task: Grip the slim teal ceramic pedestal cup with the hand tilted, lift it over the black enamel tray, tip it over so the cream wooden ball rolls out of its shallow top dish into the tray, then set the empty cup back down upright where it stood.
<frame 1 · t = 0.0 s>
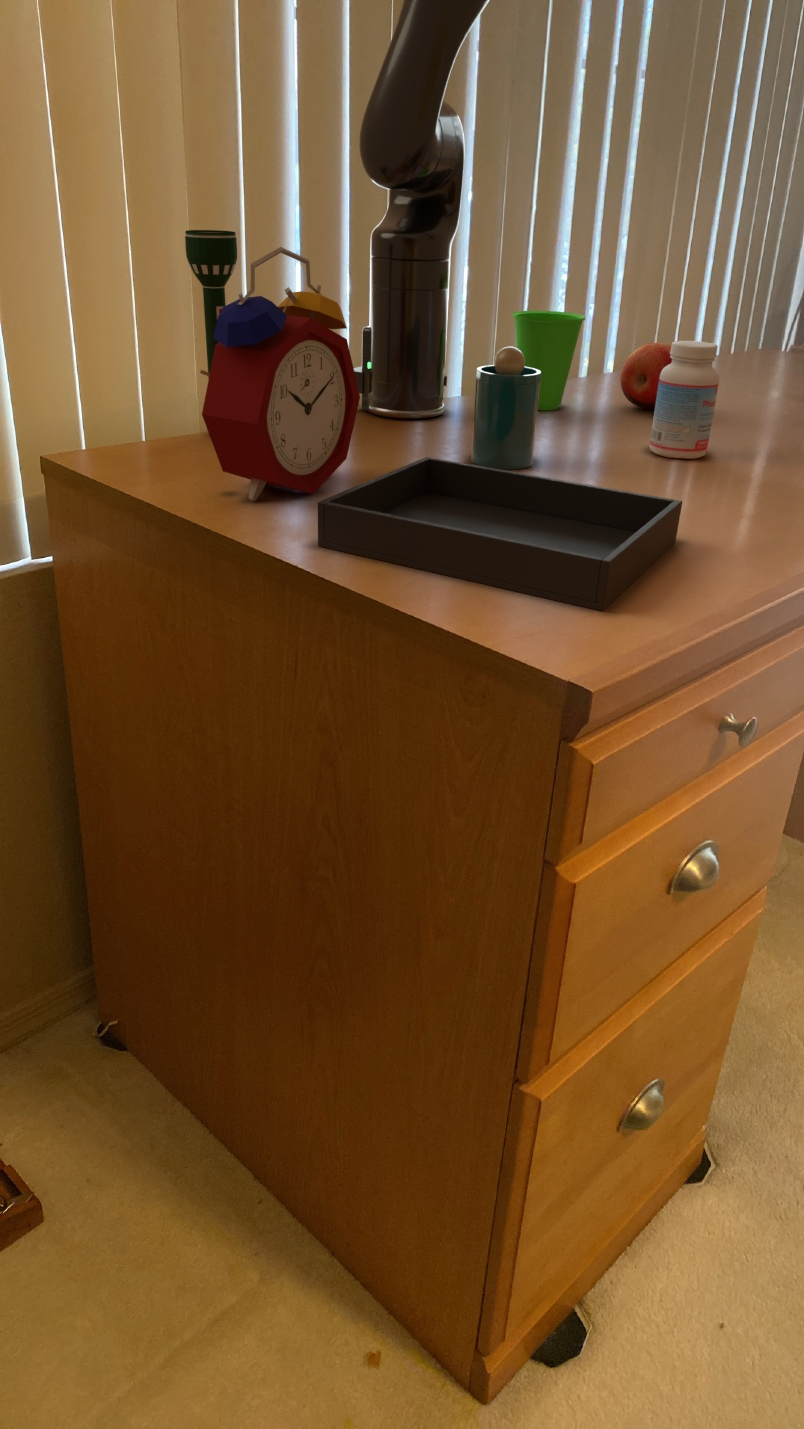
alarm clock: (277, 488, 90), on the table
flashlight: (222, 436, 107), on the table
apple: (648, 409, 127), on the table
pill bottle: (676, 455, 106), on the table
ball: (509, 362, 96), point 10 cm above the table, touching pour cup
tray: (500, 544, 77), on the table
cup: (539, 407, 126), on the table
pour cup: (501, 461, 101), on the table, touching ball
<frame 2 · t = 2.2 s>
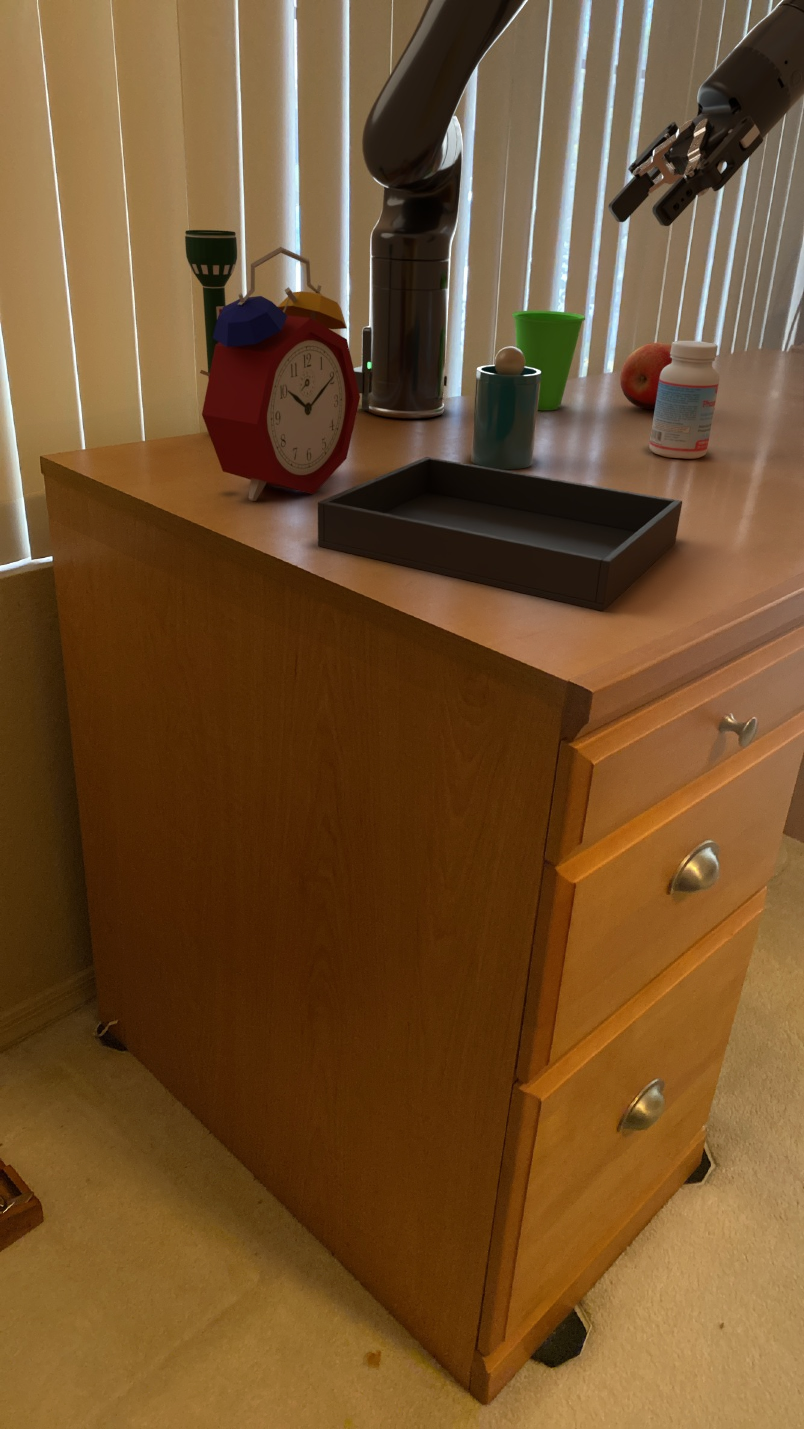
hand: (635, 217, 93), 23 cm above the table, tool tilted 45°, fingers open, 8 cm apart
nothing on the table moved.
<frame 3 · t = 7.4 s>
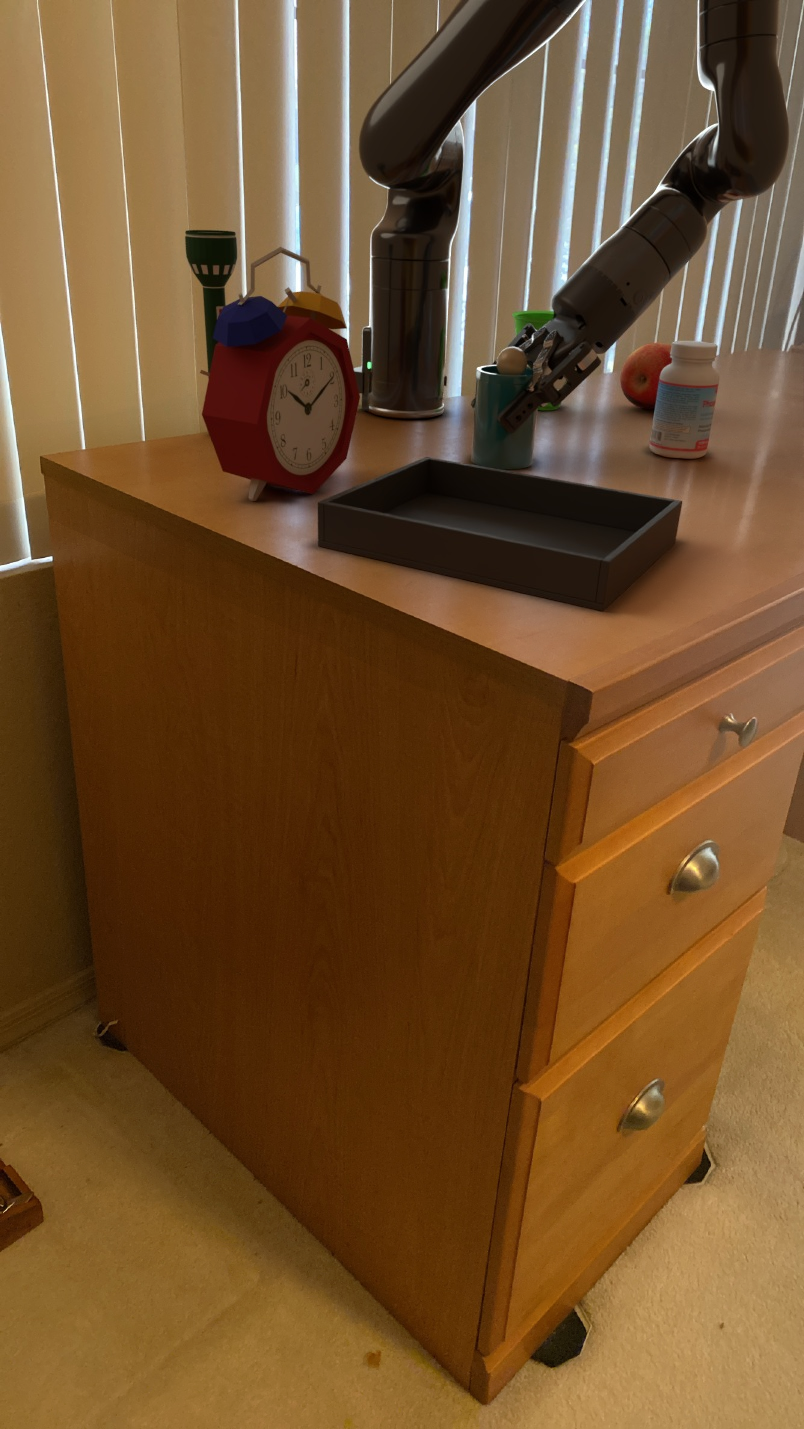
hand: (490, 418, 98), 4 cm above the table, tool tilted 45°, fingers closed on pour cup, 6 cm apart
ball: (511, 362, 96), point 10 cm above the table, tilted 10°, touching pour cup
pour cup: (501, 461, 100), on the table, touching ball, gripper
everything else where it was.
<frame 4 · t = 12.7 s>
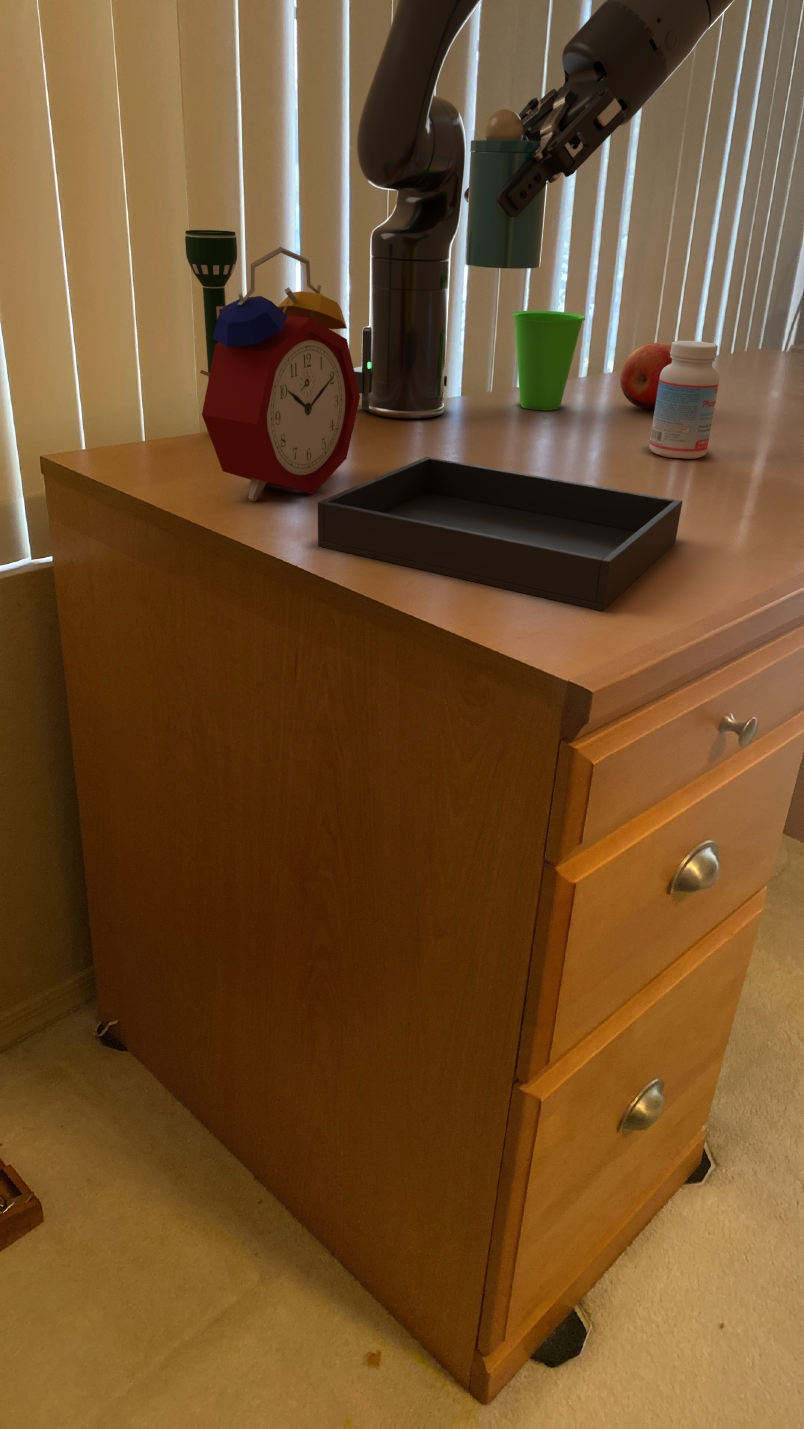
hand: (487, 206, 80), 23 cm above the table, tool tilted 45°, fingers closed on pour cup, 6 cm apart
ball: (504, 131, 78), point 29 cm above the table, tilted 31°, touching pour cup
pour cup: (502, 265, 82), point 19 cm above the table, touching ball, gripper
everything else where it was.
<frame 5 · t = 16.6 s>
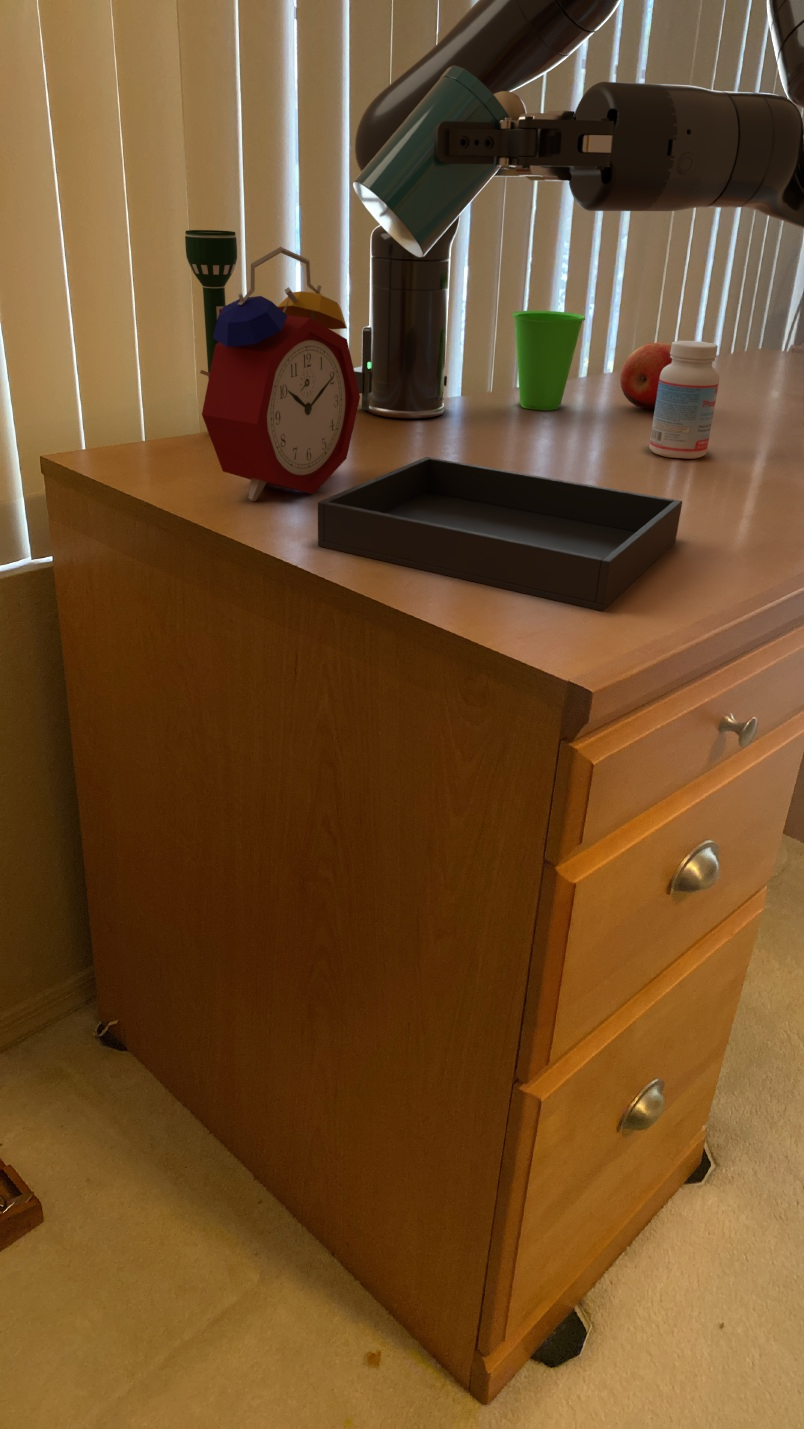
hand: (419, 144, 62), 27 cm above the table, tool horizontal, fingers closed on pour cup, 6 cm apart
ball: (503, 118, 63), point 29 cm above the table, tilted 76°, touching pour cup
pour cup: (388, 220, 64), point 23 cm above the table, tilted 44°, touching ball, gripper
everything else where it was.
when the fingers open (5 cm above the table, at t = 29.1 s): pour cup stays where it is, on the table.
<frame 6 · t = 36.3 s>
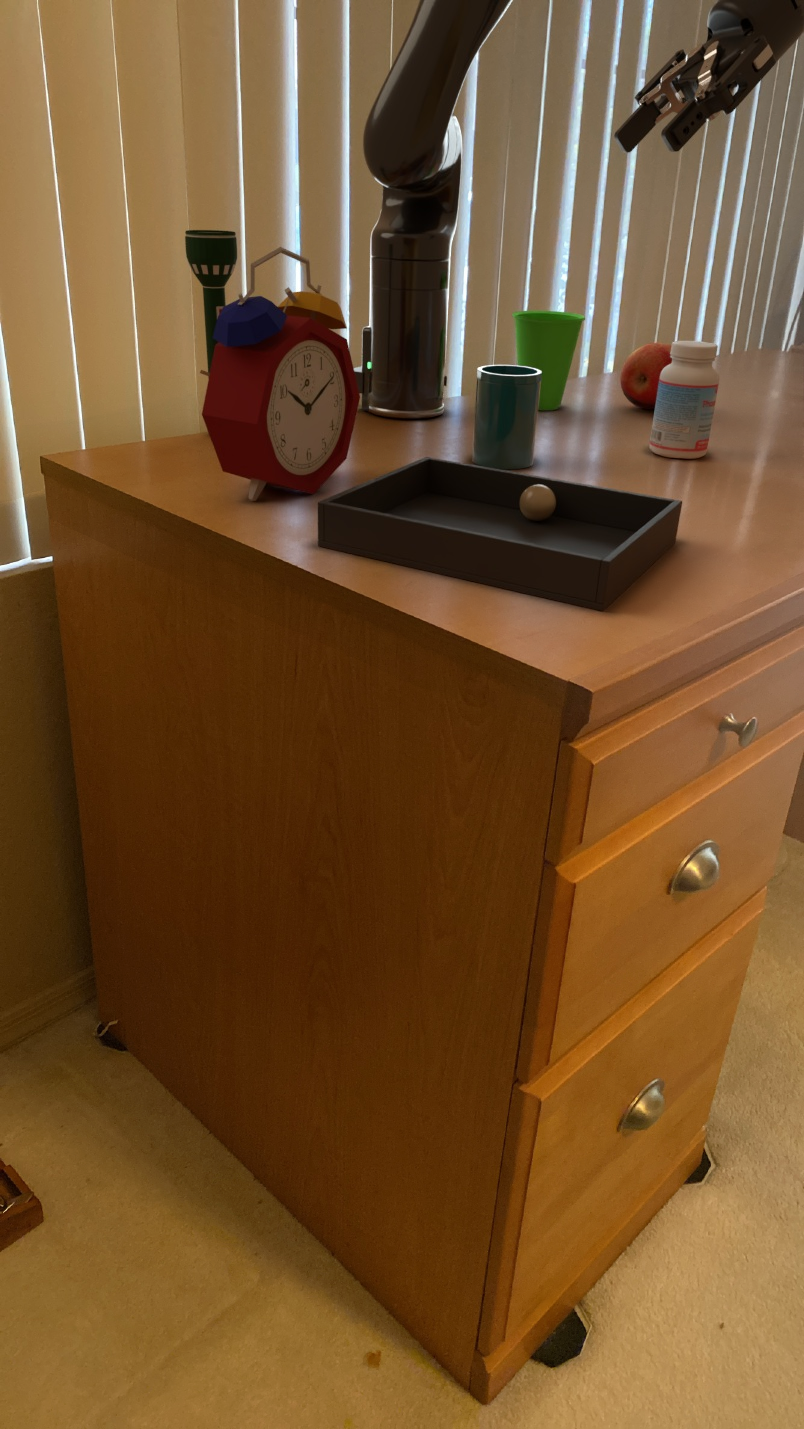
hand: (643, 144, 90), 29 cm above the table, tool tilted 45°, fingers open, 8 cm apart
ball: (537, 502, 81), point 2 cm above the table, tilted 8°, touching tray
pour cup: (502, 461, 101), on the table
everything else where it was.
at the end: ball inside the target area in the tray (6.0 cm from its centre), point 2.0 cm above the tray's base; pour cup tilted 0° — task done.
